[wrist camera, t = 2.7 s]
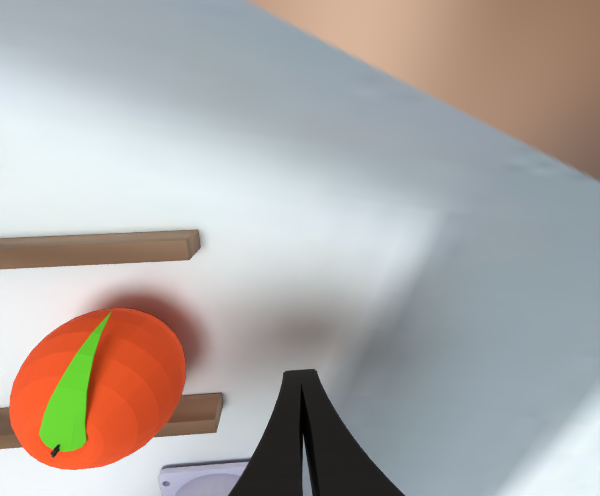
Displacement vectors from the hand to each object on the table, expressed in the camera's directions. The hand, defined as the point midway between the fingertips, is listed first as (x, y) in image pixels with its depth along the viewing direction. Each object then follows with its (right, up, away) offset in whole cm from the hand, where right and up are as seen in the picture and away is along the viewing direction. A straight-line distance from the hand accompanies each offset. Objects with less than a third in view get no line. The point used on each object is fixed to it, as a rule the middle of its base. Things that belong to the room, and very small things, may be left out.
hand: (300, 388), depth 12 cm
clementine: (-9, +1, +5) cm, 11 cm away
